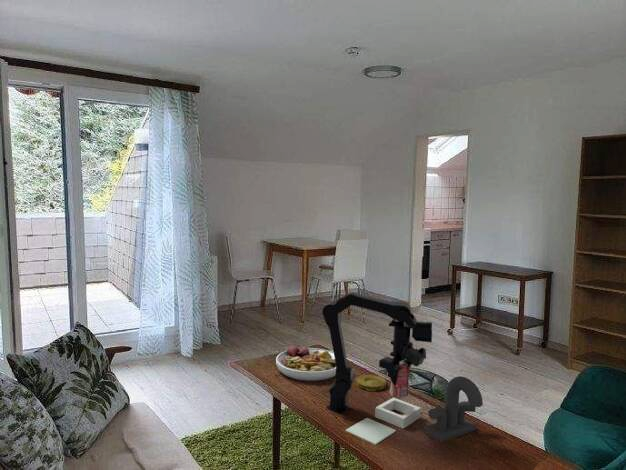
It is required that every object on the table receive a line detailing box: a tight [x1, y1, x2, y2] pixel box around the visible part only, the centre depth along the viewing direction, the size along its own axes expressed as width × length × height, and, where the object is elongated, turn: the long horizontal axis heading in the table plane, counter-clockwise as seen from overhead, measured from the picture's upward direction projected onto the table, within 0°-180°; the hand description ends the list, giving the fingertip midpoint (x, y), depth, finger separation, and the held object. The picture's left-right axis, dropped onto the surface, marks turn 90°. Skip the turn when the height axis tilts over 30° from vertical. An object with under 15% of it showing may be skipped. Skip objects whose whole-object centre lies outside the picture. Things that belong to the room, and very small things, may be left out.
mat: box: [345, 417, 397, 446], centre depth 156 cm, size 12×12×1 cm
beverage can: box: [389, 361, 410, 400], centre depth 165 cm, size 6×6×12 cm
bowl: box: [275, 345, 336, 382], centre depth 209 cm, size 30×30×8 cm
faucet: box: [422, 376, 484, 443], centre depth 155 cm, size 18×16×20 cm
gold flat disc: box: [356, 374, 387, 392], centre depth 194 cm, size 12×12×2 cm
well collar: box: [374, 397, 422, 429], centre depth 167 cm, size 12×12×4 cm
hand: (399, 382), depth 166 cm, fingers closed on beverage can, 6 cm apart
